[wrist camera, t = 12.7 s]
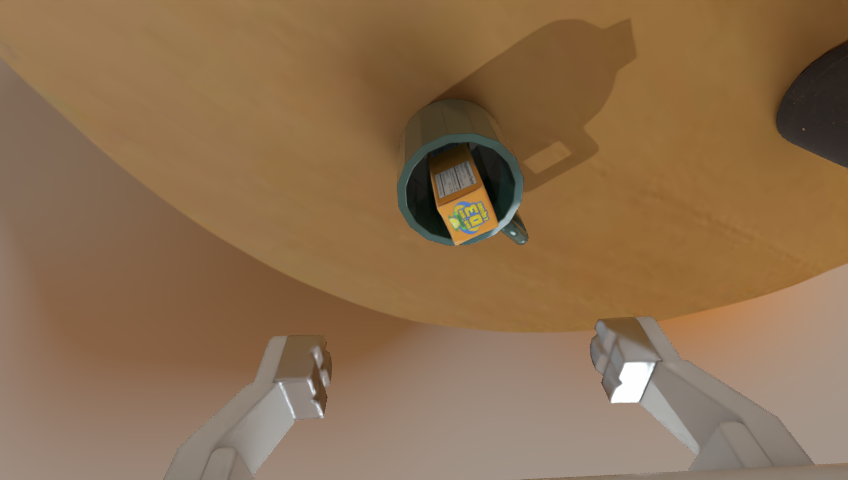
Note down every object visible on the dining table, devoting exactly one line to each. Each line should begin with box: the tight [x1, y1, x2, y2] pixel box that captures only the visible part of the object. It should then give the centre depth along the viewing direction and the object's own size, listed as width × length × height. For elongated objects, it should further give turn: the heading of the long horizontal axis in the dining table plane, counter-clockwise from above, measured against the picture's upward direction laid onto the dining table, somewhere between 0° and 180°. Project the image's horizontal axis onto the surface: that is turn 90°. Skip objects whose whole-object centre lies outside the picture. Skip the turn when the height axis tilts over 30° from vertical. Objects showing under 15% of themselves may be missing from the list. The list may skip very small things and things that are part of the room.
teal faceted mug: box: [397, 99, 528, 246], centre depth 31 cm, size 12×8×8 cm
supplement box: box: [427, 142, 499, 246], centre depth 29 cm, size 3×3×10 cm
